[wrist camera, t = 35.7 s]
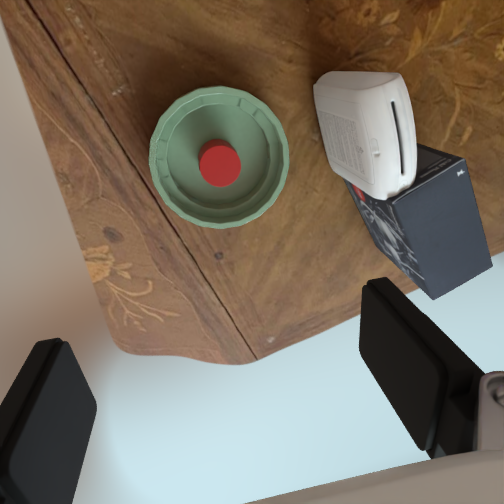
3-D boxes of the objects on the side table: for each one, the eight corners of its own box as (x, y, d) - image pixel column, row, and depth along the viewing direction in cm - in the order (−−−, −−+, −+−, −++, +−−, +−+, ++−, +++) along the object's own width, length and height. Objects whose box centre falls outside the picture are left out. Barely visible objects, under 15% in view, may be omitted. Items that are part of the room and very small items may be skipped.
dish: (168, 223, 38) (166, 237, 35) (138, 94, 32) (132, 96, 29) (282, 205, 40) (292, 217, 36) (274, 78, 34) (285, 78, 30)
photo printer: (364, 161, 39) (433, 195, 28) (329, 175, 39) (385, 215, 28) (346, 64, 34) (423, 60, 23) (306, 80, 34) (364, 84, 23)
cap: (227, 131, 35) (231, 138, 31) (242, 167, 36) (247, 177, 33) (191, 148, 35) (191, 156, 31) (208, 183, 37) (210, 193, 33)
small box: (334, 166, 38) (390, 201, 28) (387, 130, 38) (466, 153, 27) (375, 249, 45) (434, 303, 34) (422, 220, 44) (497, 266, 34)
